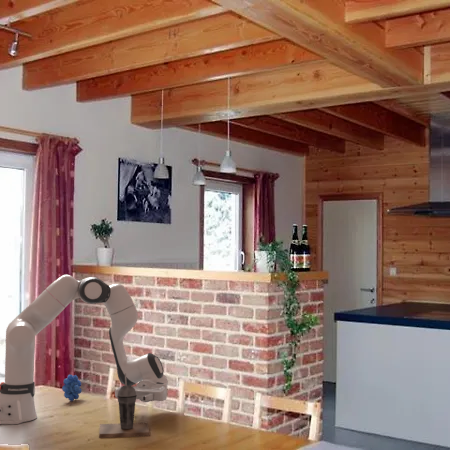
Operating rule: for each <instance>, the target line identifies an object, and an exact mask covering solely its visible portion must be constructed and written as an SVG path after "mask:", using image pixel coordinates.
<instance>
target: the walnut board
mask: <svg viewBox="0 0 450 450" xmlns="http://www.w3.org/2000/svg"><path fill="white" fill-rule="evenodd" d="M98 429H99V432H98V433H99V434H98V435H99V436H98V438H122V437H123V438H124V437H125V438H126V437H127V438H128V437H129V438H130V437H149V436H150V429H149V424H148V422H134V423H133V428H131V429H122V428H121V424H120V422H118V423H99V428H98Z"/></svg>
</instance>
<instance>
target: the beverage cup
mask: <svg viewBox="0 0 450 450" xmlns="http://www.w3.org/2000/svg"><path fill="white" fill-rule="evenodd" d="M132 386H133V385H132ZM132 386H130V385H127V381H126V373H125V385H124V384H123V386H120V387H121V388H120V389H119V391H118V396H117V397H118V398H117V403H118V413H119V423H120V424H121V428H122V429H131V428H133V423H135V410H136V401H137V399H136V396H137V395H136V391H135V389H134V388H133V387H132Z"/></svg>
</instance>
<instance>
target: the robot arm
mask: <svg viewBox="0 0 450 450" xmlns="http://www.w3.org/2000/svg"><path fill="white" fill-rule="evenodd" d="M76 299H79V300H81V301H82V302H84V303H86V304H89V305H95V304H103V305H104V307H105V308H106V309H107V311H108V312H107V313H108V314H109V316H110V322H111V323H110V324H111V326H110V328H109V330H108V335H109V342H110V345H111V349H112V353H113V357H114V362H115V365H116V372H117V374H116V375H117V378H118V380H119V382H120V383H121V384H122V385H123V386H124V385H125V373H126V381H127V385H130V386H132V387H133V388H134V389H135V391H136V395H137V396H136V400H138V401H141V402H143V403H149V402H155V401H157V402H162V401H163V402H164V401H166V400H167V396H168V389H167V388H168V385H169V382H168V381H169V380H168V378H167V377H166V375H165V374H164V366H163V364H162V361H161V359H160V358H159V357H158V356H157V355H155V354H154V353H152V352H149V353H146V354H143V355H140V356H139V357H137V358H133V359H131V360H129V359H128V357H127V354H126V351H125V349H126V348H125V345H124V339H125V336H126V335H127V334H128V333H129V332H130V331H131V330H132V329H133V328H134V327H135V326H136V324H137V322H138V319H139V314H138V310H137V308H136V305H135V303H134V301H133V299H132V297H131V295H130V293H129V291H128V290H127V289H126V288H125V286H124V285H123V284H121V283H113V284H110V285H108V284H107V283H106V282H104V281H103V280H102V279H100V278H98V277H96V276H88V277H85V278H83V279H79V280H78V279H76V278H75V277H74V276H73V275H69V274H63V275H60V276H59V277H58V278H57V279H55V280H54V281H53V282H52V283H50V284H49V285H48V286H47V287H46V288H45V289H44V290H43V291H42V292H41V293H40V294H39V295H38V296H37V297H36V298H35V299H34V300H33V301H32V302H31V303H30V304H29V305H28V306H27V307H26V308H24V309H23V310H22V311H21V312H20V313H19V314H18V315H17V316H16V317H15V318H14V319H13V320H12V321H10V322H9V324H8V325H7V327H6V330H5V360H4V361H5V363H4V364H5V365H4V382H3V381H2V382H0V425H18V424H21V423H26V422H30V421H33V420H35V419H37V418H38V416H37V411H36V410H37V409H36V406H35V405H36V404H35V394H36V385H35V381H34V378H35V376H34V375H35V373H34V372H35V352H36V351H35V350H36V336H37V335H38V334H39V333H40V332H41V331H42V330H44V329H45V328H46V327H47V326H48V325H50V324H51V323H52V322H53V321H54V320H56V318H57V317H58V316H59V315H60V314H61V313H62V312H63V311H64V310H65V308H67V307H68V305H69V304H71V303H72V302H73V301H74V300H76ZM134 385H136V386H134ZM121 387H122V386H119V387H116V388H115V391H114V395H115V397H116V399H118V397H117V396H118V391H119V389H120V388H121Z"/></svg>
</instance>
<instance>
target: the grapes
mask: <svg viewBox="0 0 450 450" xmlns="http://www.w3.org/2000/svg"><path fill="white" fill-rule="evenodd" d="M81 386H82V382H81V380H80V379H79V377H78V376H77V374H75V375H73V374H68V375H67V378H64V379H63V386H62V388H61V390H62V392H64V393H63V396H64V398H65V399H68V401H69V402H73V401H74V400H78V399H79V397H80V395H79V394H81V393H82V390H83V389H82V388H81Z"/></svg>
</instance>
